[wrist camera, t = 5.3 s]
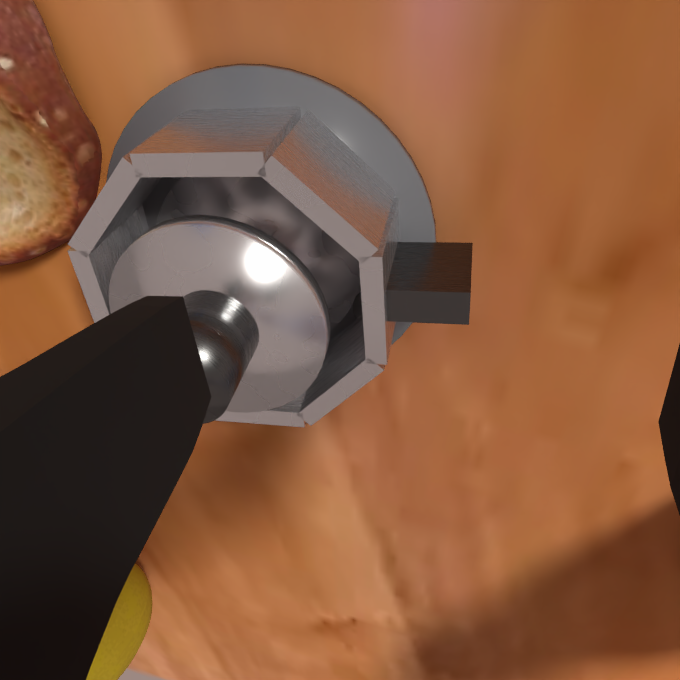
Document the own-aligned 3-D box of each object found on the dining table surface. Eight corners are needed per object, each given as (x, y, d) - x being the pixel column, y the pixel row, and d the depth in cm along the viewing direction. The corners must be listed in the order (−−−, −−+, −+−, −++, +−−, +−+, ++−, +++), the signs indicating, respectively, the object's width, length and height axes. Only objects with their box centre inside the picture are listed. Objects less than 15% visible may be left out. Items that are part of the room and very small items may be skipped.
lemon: (174, 535, 32) (97, 697, 26) (175, 592, 35) (107, 747, 29) (73, 508, 32) (-28, 661, 26) (84, 567, 36) (-3, 715, 29)
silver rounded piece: (368, 343, 21) (329, 493, 16) (187, 334, 22) (96, 470, 17) (355, 151, 17) (299, 266, 12) (138, 154, 18) (3, 260, 13)
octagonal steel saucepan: (466, 363, 21) (462, 439, 18) (172, 348, 24) (128, 413, 21) (479, 101, 16) (477, 148, 13) (103, 112, 18) (31, 154, 16)
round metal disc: (434, 379, 23) (433, 386, 22) (157, 362, 25) (153, 369, 24) (438, 54, 16) (437, 58, 16) (65, 71, 18) (58, 74, 18)
